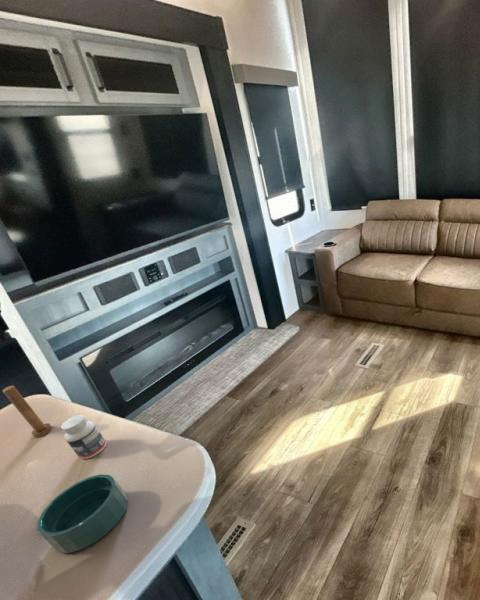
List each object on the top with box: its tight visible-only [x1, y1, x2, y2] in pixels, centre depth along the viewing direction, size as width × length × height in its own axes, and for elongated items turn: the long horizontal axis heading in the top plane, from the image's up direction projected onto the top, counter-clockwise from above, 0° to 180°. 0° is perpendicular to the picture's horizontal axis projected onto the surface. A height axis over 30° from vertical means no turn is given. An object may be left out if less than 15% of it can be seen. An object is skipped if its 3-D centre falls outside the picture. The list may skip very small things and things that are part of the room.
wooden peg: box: [2, 385, 53, 439], centre depth 86 cm, size 4×4×14 cm
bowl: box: [36, 473, 129, 554], centre depth 65 cm, size 11×11×6 cm
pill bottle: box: [61, 414, 107, 460], centre depth 80 cm, size 5×5×9 cm
